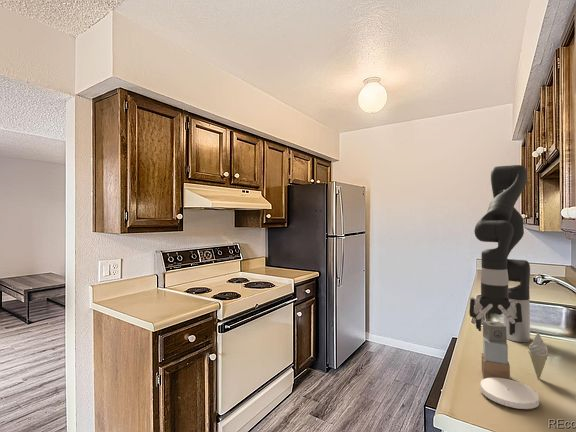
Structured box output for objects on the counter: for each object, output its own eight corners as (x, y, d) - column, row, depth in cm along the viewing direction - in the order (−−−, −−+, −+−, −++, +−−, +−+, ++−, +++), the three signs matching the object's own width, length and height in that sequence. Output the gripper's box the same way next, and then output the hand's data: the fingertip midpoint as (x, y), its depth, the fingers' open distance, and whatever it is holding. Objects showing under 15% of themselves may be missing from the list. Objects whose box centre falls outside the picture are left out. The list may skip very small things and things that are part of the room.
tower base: (481, 370, 110) (481, 352, 110) (506, 374, 106) (506, 356, 106) (483, 380, 103) (483, 361, 103) (510, 384, 100) (509, 365, 100)
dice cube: (482, 336, 109) (482, 321, 109) (499, 336, 108) (499, 321, 108) (489, 341, 104) (489, 326, 104) (506, 342, 103) (506, 326, 103)
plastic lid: (482, 381, 103) (482, 373, 103) (537, 394, 95) (537, 386, 95) (478, 401, 92) (478, 392, 92) (540, 419, 84) (540, 409, 84)
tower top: (483, 353, 109) (483, 335, 109) (504, 356, 106) (504, 338, 106) (485, 360, 103) (485, 342, 103) (507, 364, 101) (507, 345, 101)
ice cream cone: (547, 377, 104) (546, 330, 104) (550, 384, 100) (549, 335, 100) (527, 373, 107) (527, 327, 107) (529, 380, 103) (529, 332, 103)
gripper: (518, 281, 105) (519, 331, 105) (468, 278, 111) (469, 325, 112) (523, 286, 98) (524, 339, 98) (469, 282, 105) (470, 332, 105)
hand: (494, 332), depth 105 cm, fingers open, 8 cm apart
